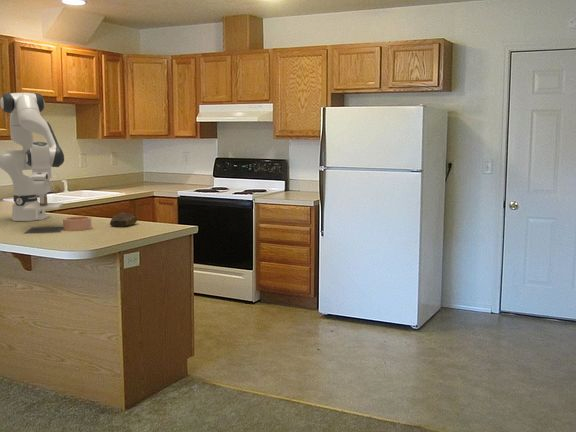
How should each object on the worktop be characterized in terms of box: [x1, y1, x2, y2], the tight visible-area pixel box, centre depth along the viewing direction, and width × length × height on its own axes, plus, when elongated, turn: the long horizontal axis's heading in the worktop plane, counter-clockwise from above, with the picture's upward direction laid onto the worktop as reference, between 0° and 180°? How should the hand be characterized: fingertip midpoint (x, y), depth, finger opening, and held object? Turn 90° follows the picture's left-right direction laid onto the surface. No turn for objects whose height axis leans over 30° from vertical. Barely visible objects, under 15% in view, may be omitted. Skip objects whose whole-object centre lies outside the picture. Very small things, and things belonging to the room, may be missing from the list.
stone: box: [109, 212, 138, 228], centre depth 340 cm, size 10×14×6 cm
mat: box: [22, 225, 64, 235], centre depth 324 cm, size 19×17×1 cm
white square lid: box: [23, 196, 64, 210], centre depth 322 cm, size 16×16×5 cm
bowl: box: [62, 215, 93, 232], centre depth 326 cm, size 13×13×6 cm
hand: (43, 202), depth 322 cm, fingers closed on white square lid, 3 cm apart
